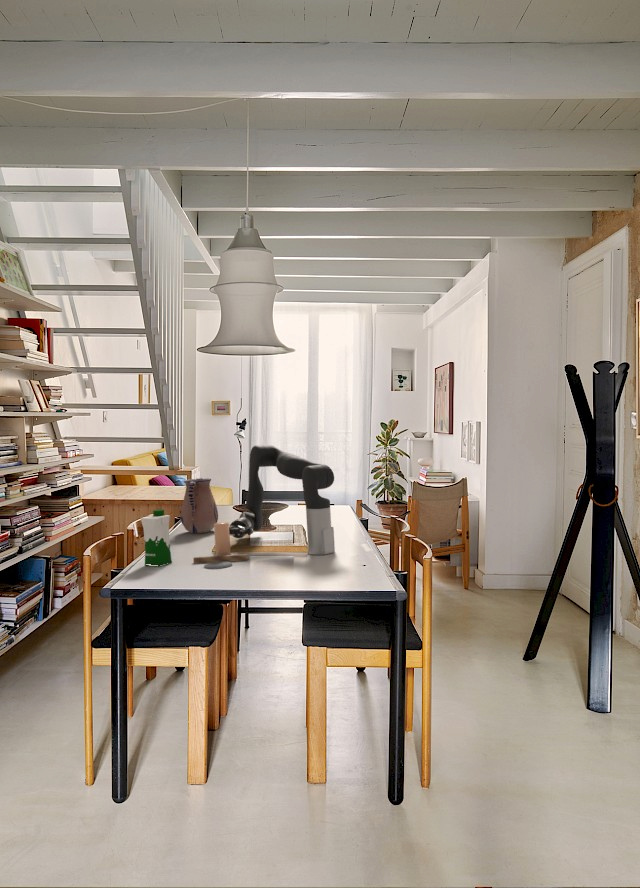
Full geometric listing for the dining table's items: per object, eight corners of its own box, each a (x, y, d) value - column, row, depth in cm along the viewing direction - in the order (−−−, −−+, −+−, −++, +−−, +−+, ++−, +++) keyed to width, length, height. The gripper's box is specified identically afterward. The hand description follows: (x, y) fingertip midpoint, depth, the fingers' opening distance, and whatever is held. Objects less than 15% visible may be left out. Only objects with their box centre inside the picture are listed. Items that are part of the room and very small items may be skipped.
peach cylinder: (233, 556, 276) (231, 522, 275) (223, 559, 271) (221, 524, 271) (223, 555, 279) (221, 521, 279) (213, 557, 275) (210, 524, 274)
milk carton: (175, 562, 271) (171, 509, 270) (159, 567, 263) (155, 513, 262) (157, 561, 275) (153, 509, 274) (140, 566, 267) (137, 512, 266)
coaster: (238, 564, 260) (238, 563, 260) (217, 570, 253) (217, 568, 253) (219, 561, 267) (218, 560, 267) (198, 567, 259) (198, 566, 259)
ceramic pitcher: (220, 527, 348) (217, 476, 347) (217, 535, 327) (213, 480, 326) (183, 530, 347) (180, 478, 346) (178, 537, 326) (174, 482, 325)
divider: (248, 559, 268) (247, 554, 268) (247, 560, 267) (247, 554, 267) (194, 562, 268) (193, 557, 268) (193, 563, 267) (193, 558, 266)
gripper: (223, 519, 302) (211, 525, 286) (256, 518, 300) (246, 524, 284) (224, 536, 302) (213, 544, 286) (257, 535, 300) (247, 543, 284)
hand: (229, 534), depth 285 cm, fingers open, 8 cm apart
